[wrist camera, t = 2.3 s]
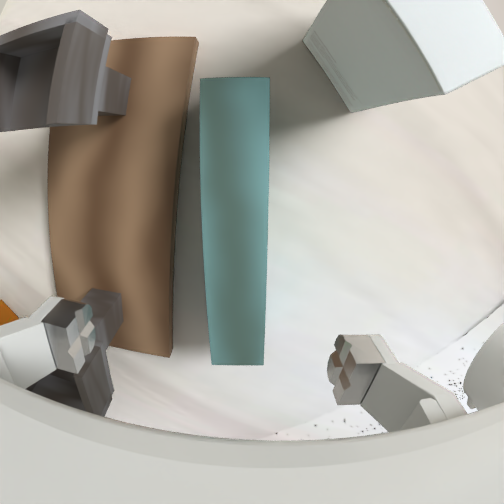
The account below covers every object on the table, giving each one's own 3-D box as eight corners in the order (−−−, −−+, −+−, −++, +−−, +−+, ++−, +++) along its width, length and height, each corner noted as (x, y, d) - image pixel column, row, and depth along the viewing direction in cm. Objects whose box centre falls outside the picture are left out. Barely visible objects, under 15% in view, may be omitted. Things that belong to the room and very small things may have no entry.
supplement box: (349, 115, 21) (442, 99, 9) (299, 39, 19) (345, -43, 7) (414, 83, 20) (518, 62, 8) (369, 12, 17) (446, -53, 6)
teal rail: (264, 93, 21) (269, 77, 15) (260, 322, 28) (263, 365, 22) (212, 94, 21) (200, 78, 15) (218, 322, 28) (211, 364, 22)
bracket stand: (198, 42, 19) (151, -43, 7) (172, 348, 28) (140, 454, 16) (71, 51, 18) (-29, 19, 6) (71, 326, 28) (12, 407, 16)
